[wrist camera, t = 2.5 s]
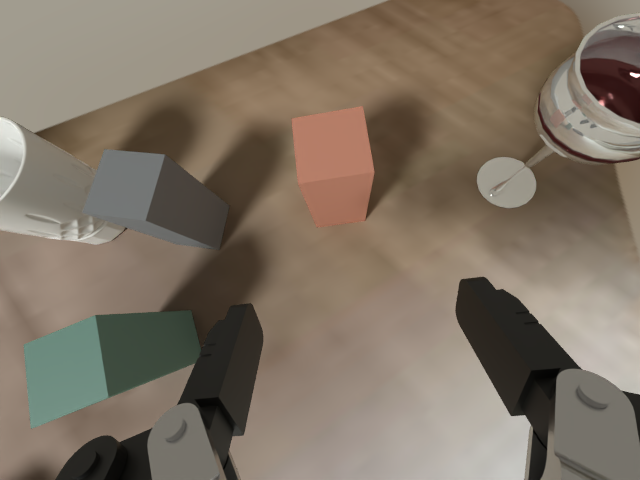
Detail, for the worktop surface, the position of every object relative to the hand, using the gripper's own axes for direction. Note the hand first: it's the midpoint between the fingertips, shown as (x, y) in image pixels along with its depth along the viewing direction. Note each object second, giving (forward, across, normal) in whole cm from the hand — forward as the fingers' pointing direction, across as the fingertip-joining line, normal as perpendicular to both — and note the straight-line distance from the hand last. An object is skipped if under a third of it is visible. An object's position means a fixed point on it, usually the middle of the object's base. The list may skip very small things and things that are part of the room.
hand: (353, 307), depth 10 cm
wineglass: (+16, -15, +3) cm, 22 cm away
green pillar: (+8, +16, +10) cm, 21 cm away
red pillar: (+16, 0, +2) cm, 16 cm away
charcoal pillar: (+16, +13, +3) cm, 21 cm away
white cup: (+18, +24, +1) cm, 30 cm away
